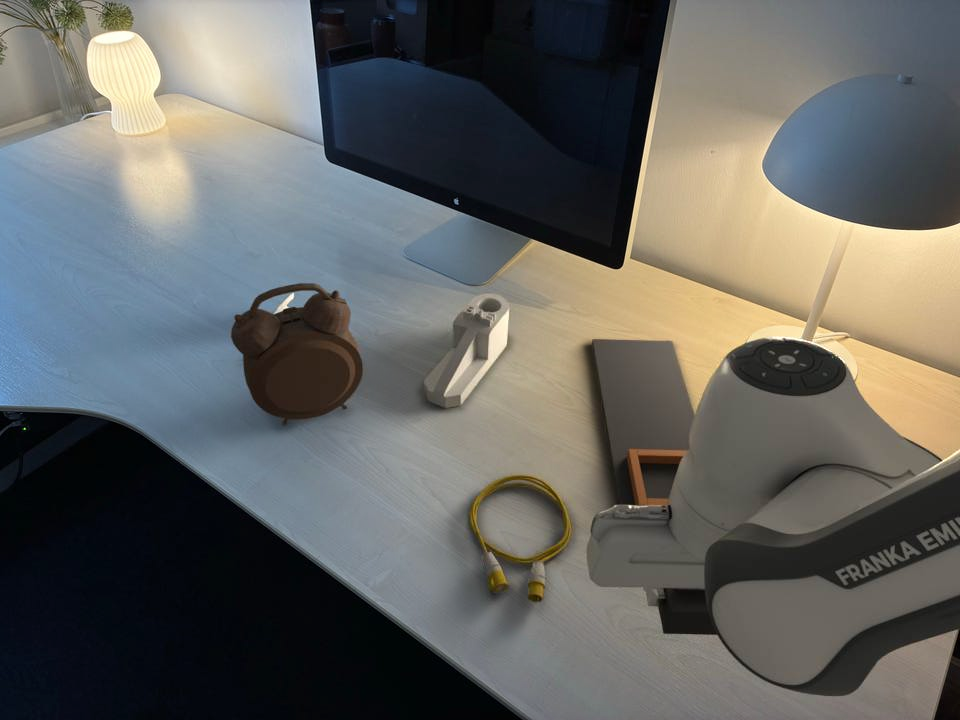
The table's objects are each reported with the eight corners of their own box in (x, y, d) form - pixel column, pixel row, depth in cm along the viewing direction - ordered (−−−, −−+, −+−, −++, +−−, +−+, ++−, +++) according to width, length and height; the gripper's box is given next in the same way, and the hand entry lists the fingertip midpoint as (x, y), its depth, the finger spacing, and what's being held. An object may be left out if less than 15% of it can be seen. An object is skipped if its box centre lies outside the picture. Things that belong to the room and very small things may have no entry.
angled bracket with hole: (419, 397, 93) (417, 353, 88) (480, 325, 105) (481, 283, 100) (455, 411, 91) (455, 368, 86) (513, 336, 103) (516, 294, 98)
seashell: (285, 352, 105) (269, 344, 97) (260, 332, 106) (241, 322, 98) (318, 312, 106) (305, 301, 98) (293, 292, 107) (277, 279, 99)
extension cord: (433, 566, 74) (433, 556, 73) (499, 467, 85) (499, 456, 83) (535, 617, 70) (536, 607, 69) (590, 506, 80) (593, 496, 79)
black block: (705, 585, 66) (716, 560, 63) (717, 635, 62) (729, 610, 59) (653, 584, 66) (662, 559, 63) (663, 633, 62) (672, 609, 59)
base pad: (724, 525, 79) (730, 513, 77) (620, 523, 79) (624, 510, 77) (671, 346, 103) (674, 333, 101) (591, 343, 103) (593, 331, 101)
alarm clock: (356, 376, 96) (340, 257, 83) (371, 411, 91) (355, 289, 78) (251, 403, 92) (216, 282, 79) (260, 441, 87) (224, 318, 74)
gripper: (599, 540, 52) (580, 630, 61) (869, 546, 52) (809, 635, 61) (591, 475, 56) (574, 567, 66) (838, 480, 56) (786, 572, 65)
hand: (689, 600), depth 63 cm, fingers closed on black block, 5 cm apart
